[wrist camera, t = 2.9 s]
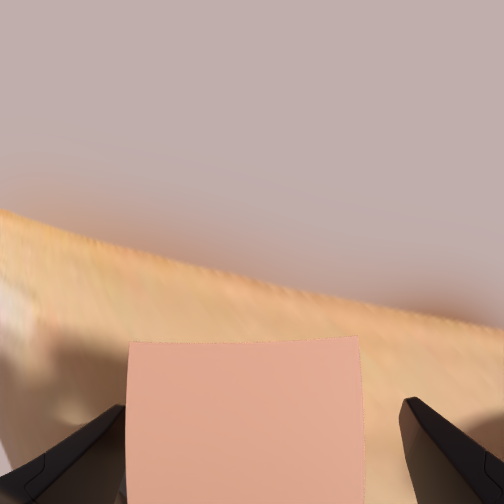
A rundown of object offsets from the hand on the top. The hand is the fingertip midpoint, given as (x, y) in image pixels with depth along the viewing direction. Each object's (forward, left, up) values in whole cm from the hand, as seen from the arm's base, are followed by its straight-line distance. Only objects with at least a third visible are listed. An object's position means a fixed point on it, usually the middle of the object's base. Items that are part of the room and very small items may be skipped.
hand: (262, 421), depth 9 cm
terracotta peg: (0, 0, -8) cm, 8 cm away
